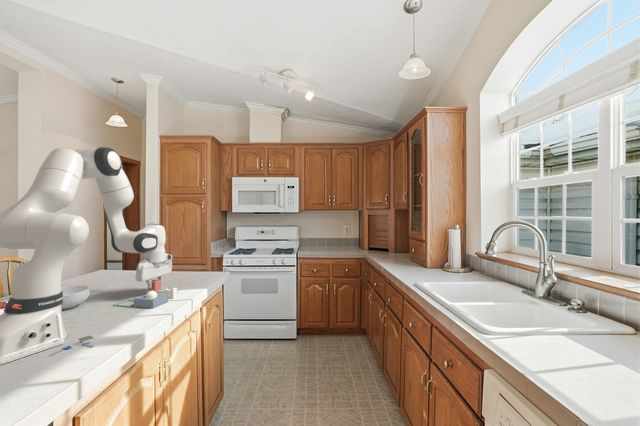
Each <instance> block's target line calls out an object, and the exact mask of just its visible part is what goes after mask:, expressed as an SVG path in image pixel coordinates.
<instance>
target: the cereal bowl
mask: <svg viewBox="0 0 640 426" xmlns="http://www.w3.org/2000/svg"><path fill="white" fill-rule="evenodd" d="M61 291H62V292H63V303H62V306H61V309H62V311H65V310H70V309H74V308H76V307H77V306H78V305H80V304H82V303H83V302H86V300H87V299H88V298H89V296H90V292H91V287H90V286H88V285H67V286H61Z"/></svg>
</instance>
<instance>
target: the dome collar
mask: <svg viewBox="0 0 640 426" xmlns="http://www.w3.org/2000/svg"><path fill="white" fill-rule="evenodd" d="M144 294H145V295H143V294H142V295H143V296H140V295H139V296H140V297H137V296H136V297H137V298H134V297H133V298H134V299H133V300H134V301H133V305H134V306H133V307H134V308H144V309H155V308H159V307H160V306H162V305H165V304H167V303H169V299H168V294H157V297H155V298H146V293H144Z"/></svg>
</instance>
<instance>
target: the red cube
mask: <svg viewBox="0 0 640 426" xmlns="http://www.w3.org/2000/svg"><path fill="white" fill-rule="evenodd" d="M151 283H152V284H153V288H150V289H149V288H148V287H147V292H149V291H157V292H159V291H160V290H162V281H161V280H158V279H152V281H151Z"/></svg>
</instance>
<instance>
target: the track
mask: <svg viewBox="0 0 640 426" xmlns="http://www.w3.org/2000/svg"><path fill="white" fill-rule="evenodd" d="M155 292H156V293H157V294H164V291H155ZM147 293H148V292H146V293H143V294H140V295H138V296H134V297H132V298H129V299H126V300H123V301H120V302H117V303H114V304H112V306H113V307H122V308H133V307H134V304H132V305H125V304H123V303H125V302H134V298H137V297H140V296H143V295H145V294H147Z"/></svg>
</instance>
